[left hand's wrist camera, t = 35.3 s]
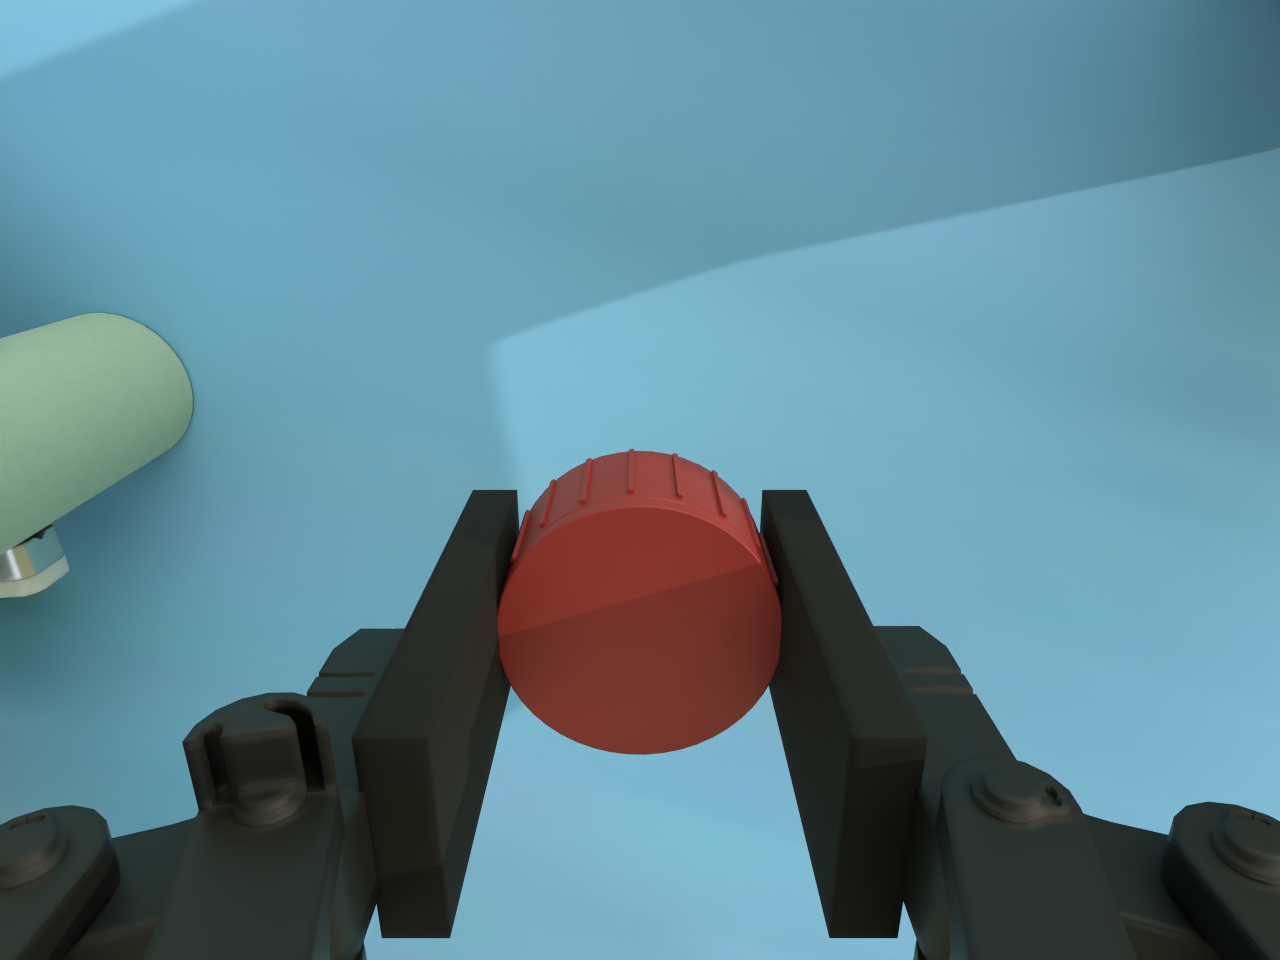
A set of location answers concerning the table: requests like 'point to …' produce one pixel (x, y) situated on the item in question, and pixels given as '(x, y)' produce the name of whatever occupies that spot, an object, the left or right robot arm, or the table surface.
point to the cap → (639, 605)
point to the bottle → (82, 414)
